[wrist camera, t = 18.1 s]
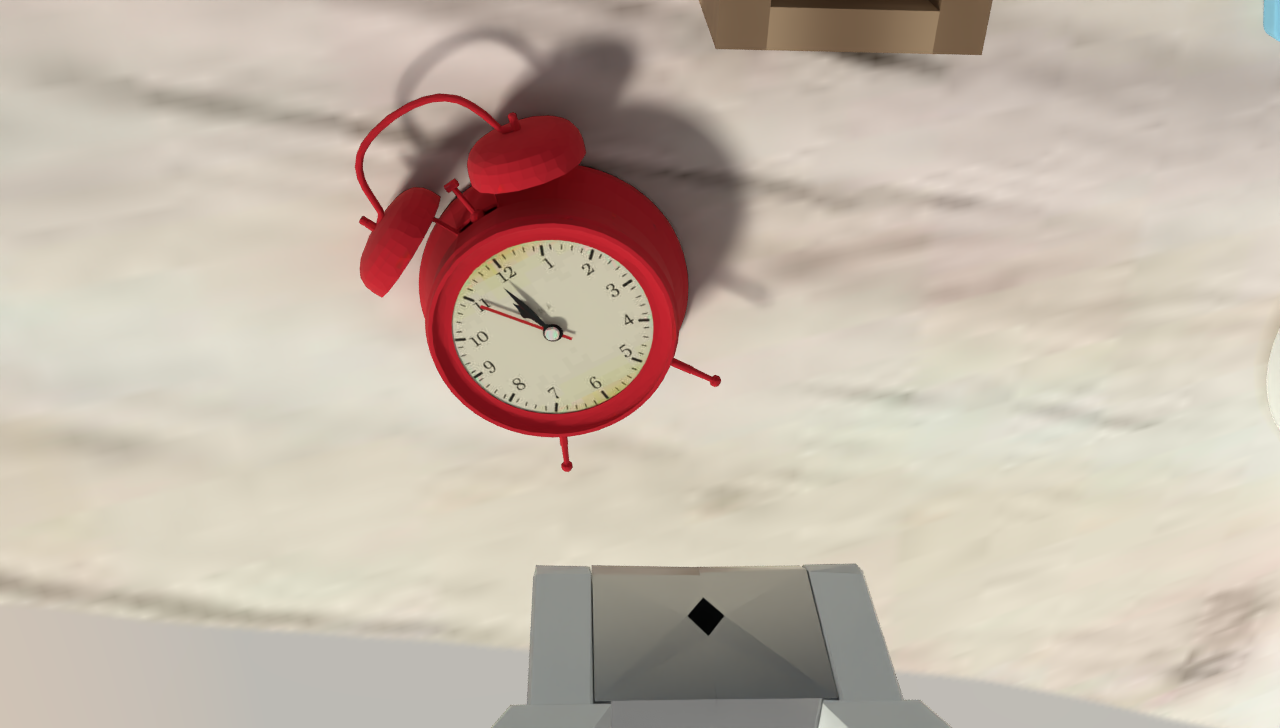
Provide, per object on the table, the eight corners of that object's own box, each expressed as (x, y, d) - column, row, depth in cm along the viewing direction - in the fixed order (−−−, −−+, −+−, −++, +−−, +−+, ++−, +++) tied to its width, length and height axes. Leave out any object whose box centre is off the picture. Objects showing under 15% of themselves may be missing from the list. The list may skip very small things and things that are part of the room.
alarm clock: (543, 505, 45) (265, 286, 36) (528, 398, 50) (277, 177, 40) (763, 378, 42) (525, 103, 33) (725, 277, 47) (507, 9, 37)
